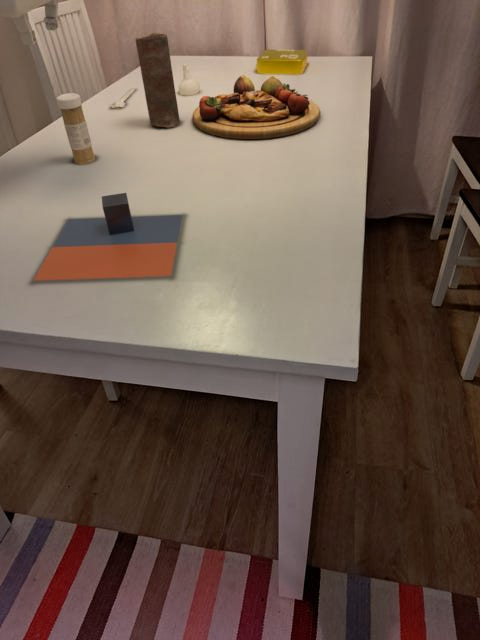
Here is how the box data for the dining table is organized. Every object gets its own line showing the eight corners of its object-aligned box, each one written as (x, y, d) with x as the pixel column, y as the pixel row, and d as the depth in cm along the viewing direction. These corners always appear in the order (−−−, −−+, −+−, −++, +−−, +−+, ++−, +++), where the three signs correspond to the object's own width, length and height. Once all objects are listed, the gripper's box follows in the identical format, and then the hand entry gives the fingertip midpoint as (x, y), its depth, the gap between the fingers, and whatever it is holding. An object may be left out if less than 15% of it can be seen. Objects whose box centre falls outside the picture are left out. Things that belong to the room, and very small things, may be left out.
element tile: (307, 63, 158) (308, 47, 155) (301, 75, 148) (302, 58, 144) (264, 63, 161) (264, 47, 158) (255, 74, 151) (255, 58, 147)
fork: (139, 90, 142) (138, 84, 141) (120, 111, 127) (118, 104, 126) (129, 91, 143) (127, 84, 141) (108, 112, 128) (107, 104, 126)
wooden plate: (203, 149, 104) (199, 110, 99) (186, 107, 128) (182, 74, 122) (338, 133, 108) (342, 95, 103) (298, 95, 132) (299, 62, 126)
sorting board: (34, 283, 68) (33, 280, 67) (69, 222, 81) (68, 219, 81) (171, 279, 67) (170, 275, 67) (183, 217, 81) (182, 214, 80)
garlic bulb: (204, 94, 136) (201, 63, 131) (185, 98, 134) (182, 67, 129) (193, 89, 140) (190, 60, 135) (175, 93, 138) (171, 63, 133)
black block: (109, 235, 76) (102, 207, 73) (108, 223, 79) (101, 196, 76) (134, 230, 77) (128, 203, 73) (132, 219, 80) (126, 192, 76)
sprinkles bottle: (86, 155, 104) (69, 91, 95) (100, 159, 102) (84, 94, 93) (70, 163, 101) (51, 97, 92) (84, 167, 99) (65, 100, 90)
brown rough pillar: (154, 133, 113) (139, 38, 100) (146, 124, 118) (131, 33, 105) (184, 127, 115) (173, 34, 102) (174, 119, 121) (163, 29, 107)
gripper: (27, -78, 76) (48, 20, 86) (-39, -65, 62) (-5, 51, 71) (65, -75, 76) (81, 23, 86) (7, -62, 61) (35, 55, 71)
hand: (41, 36), depth 78 cm, fingers open, 8 cm apart
